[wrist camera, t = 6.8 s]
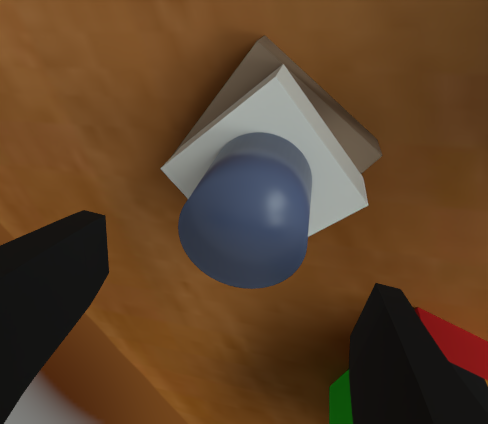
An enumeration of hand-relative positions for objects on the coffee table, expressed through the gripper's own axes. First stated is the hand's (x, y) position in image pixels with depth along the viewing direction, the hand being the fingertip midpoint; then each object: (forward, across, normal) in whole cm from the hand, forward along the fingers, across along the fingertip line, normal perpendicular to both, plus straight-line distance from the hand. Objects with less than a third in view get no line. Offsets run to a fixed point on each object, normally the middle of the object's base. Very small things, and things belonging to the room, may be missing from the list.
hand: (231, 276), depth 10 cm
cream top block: (+8, 0, 0) cm, 8 cm away
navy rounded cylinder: (+6, 0, 0) cm, 6 cm away
